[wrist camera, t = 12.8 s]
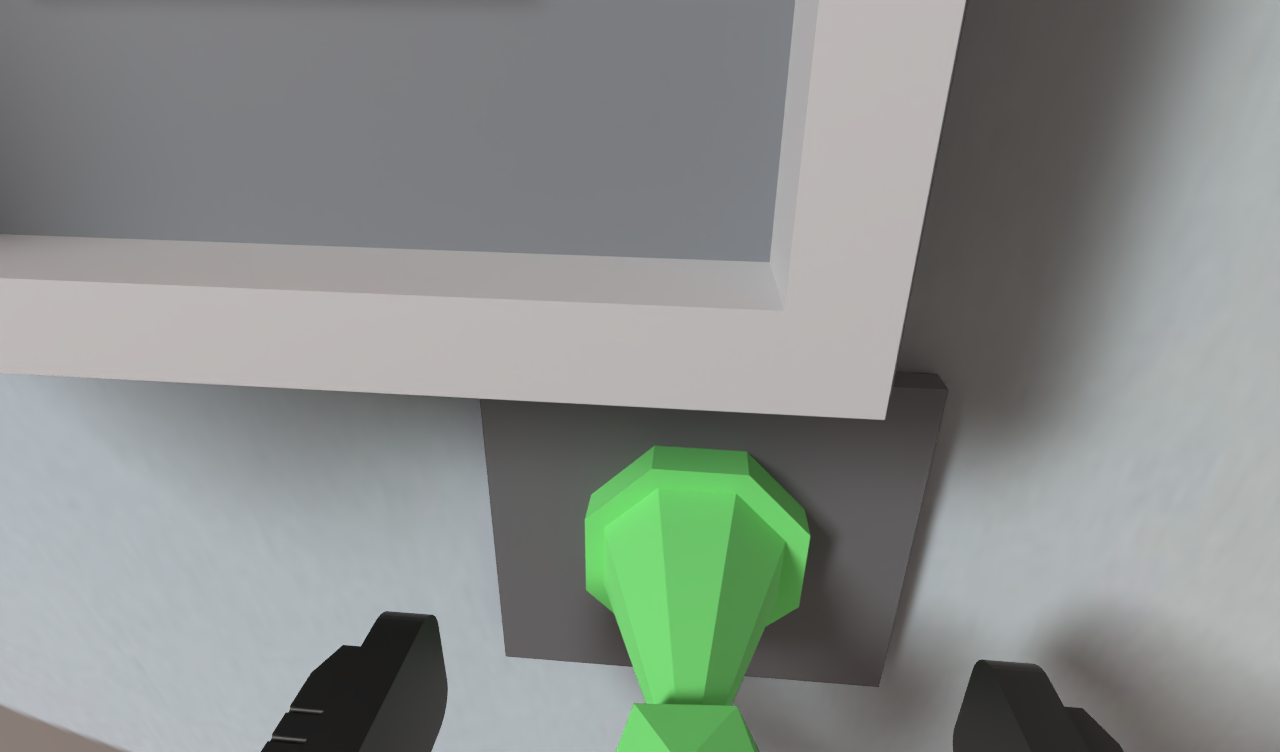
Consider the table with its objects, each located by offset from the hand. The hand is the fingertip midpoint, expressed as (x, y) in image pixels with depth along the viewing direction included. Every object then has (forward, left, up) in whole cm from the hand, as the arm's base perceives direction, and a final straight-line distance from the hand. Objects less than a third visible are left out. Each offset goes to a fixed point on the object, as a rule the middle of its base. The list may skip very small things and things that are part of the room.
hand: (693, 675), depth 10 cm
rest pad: (0, 0, -4) cm, 4 cm away
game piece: (0, 0, -3) cm, 3 cm away
